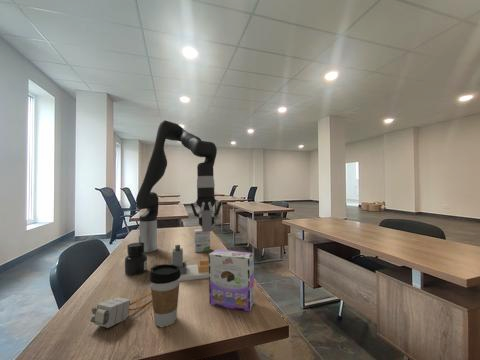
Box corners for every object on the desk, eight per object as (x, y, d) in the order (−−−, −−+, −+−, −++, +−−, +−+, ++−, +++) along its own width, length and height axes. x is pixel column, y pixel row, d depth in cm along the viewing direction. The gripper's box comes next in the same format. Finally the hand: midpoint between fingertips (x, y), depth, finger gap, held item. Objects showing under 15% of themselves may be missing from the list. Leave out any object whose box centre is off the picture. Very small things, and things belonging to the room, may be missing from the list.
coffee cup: (154, 312, 68) (154, 263, 68) (183, 311, 68) (182, 261, 68) (145, 331, 59) (145, 274, 59) (178, 329, 60) (177, 273, 60)
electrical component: (150, 298, 82) (152, 284, 83) (164, 301, 80) (166, 286, 81) (89, 325, 60) (92, 305, 61) (105, 330, 58) (109, 309, 59)
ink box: (209, 248, 131) (208, 228, 131) (210, 251, 126) (210, 230, 126) (194, 249, 129) (194, 229, 129) (194, 252, 124) (194, 231, 124)
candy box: (254, 302, 73) (254, 252, 73) (249, 312, 67) (249, 258, 67) (216, 295, 77) (215, 248, 77) (208, 304, 72) (208, 253, 72)
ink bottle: (151, 271, 98) (150, 244, 98) (130, 278, 92) (129, 249, 92) (141, 266, 105) (141, 240, 105) (121, 271, 98) (121, 244, 98)
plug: (202, 231, 96) (201, 206, 96) (201, 230, 100) (201, 205, 100) (211, 231, 97) (211, 205, 97) (210, 229, 101) (210, 204, 101)
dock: (162, 282, 87) (162, 250, 87) (165, 270, 99) (165, 242, 99) (221, 276, 93) (220, 246, 93) (217, 265, 104) (217, 239, 104)
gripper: (220, 186, 104) (221, 223, 104) (189, 186, 100) (189, 225, 100) (223, 186, 97) (224, 226, 96) (189, 187, 93) (190, 228, 93)
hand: (206, 225), depth 98 cm, fingers closed on plug, 4 cm apart
